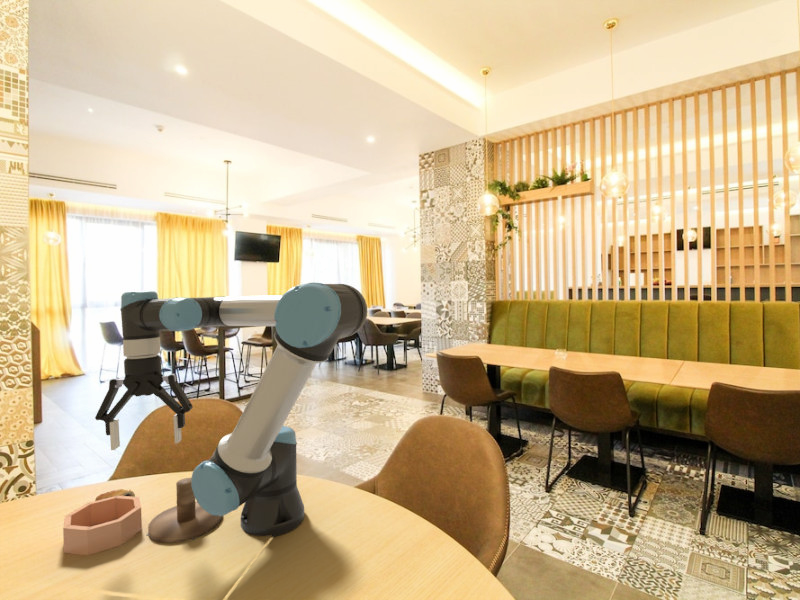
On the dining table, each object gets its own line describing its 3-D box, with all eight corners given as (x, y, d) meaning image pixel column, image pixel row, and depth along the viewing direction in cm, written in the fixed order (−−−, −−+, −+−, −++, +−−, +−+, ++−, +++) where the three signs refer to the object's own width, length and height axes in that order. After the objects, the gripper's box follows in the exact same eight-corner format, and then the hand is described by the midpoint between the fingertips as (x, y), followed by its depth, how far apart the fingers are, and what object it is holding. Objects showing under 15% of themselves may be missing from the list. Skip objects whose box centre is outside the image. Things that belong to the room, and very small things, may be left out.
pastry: (87, 509, 110) (87, 494, 110) (109, 496, 117) (109, 483, 117) (117, 512, 109) (117, 497, 109) (138, 499, 115) (138, 486, 115)
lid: (234, 508, 109) (234, 469, 108) (195, 545, 93) (194, 500, 93) (178, 503, 111) (177, 465, 111) (131, 539, 95) (130, 495, 95)
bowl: (154, 522, 103) (154, 498, 103) (105, 559, 89) (104, 531, 89) (103, 517, 106) (102, 494, 105) (47, 553, 91) (46, 526, 91)
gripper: (202, 350, 106) (207, 433, 106) (91, 357, 101) (96, 445, 101) (194, 354, 98) (199, 444, 99) (74, 362, 93) (79, 456, 94)
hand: (147, 444), depth 100 cm, fingers open, 13 cm apart
